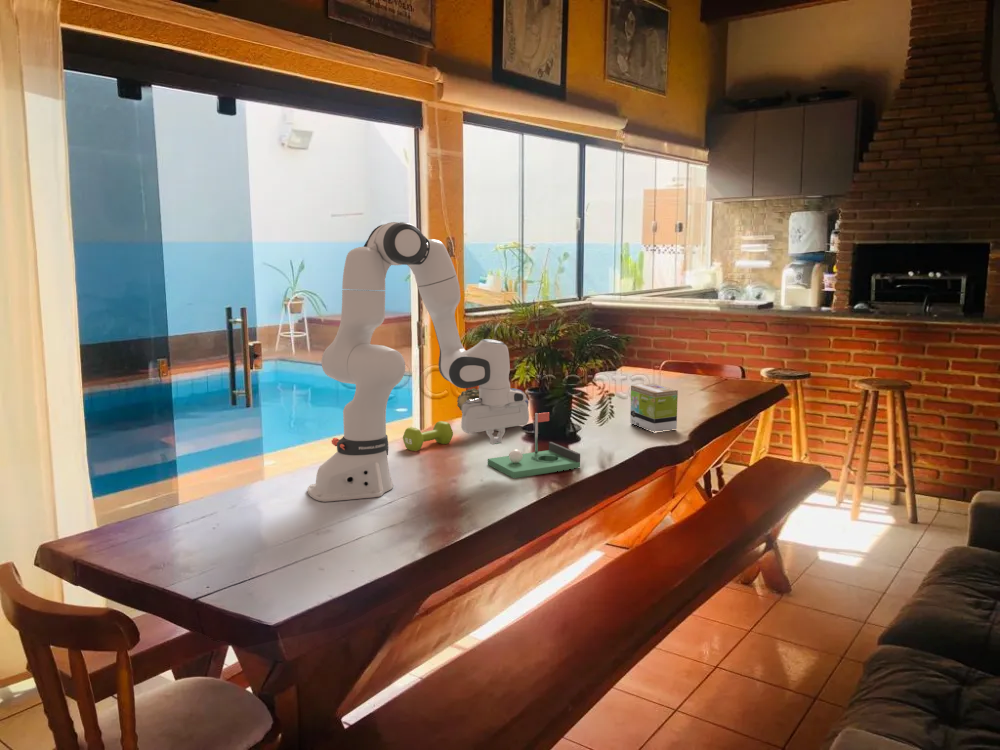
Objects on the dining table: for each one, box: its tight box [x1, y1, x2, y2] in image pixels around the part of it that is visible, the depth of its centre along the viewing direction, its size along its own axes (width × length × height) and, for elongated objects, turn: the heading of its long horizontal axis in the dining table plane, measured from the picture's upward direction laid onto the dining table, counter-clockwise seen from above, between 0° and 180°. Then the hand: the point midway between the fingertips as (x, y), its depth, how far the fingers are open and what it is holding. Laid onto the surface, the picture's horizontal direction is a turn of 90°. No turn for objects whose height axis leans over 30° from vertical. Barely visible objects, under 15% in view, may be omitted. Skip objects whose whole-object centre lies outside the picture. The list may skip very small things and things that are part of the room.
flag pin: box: [534, 412, 550, 453], centre depth 245 cm, size 5×1×14 cm, turn 118°
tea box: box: [629, 382, 679, 432], centre depth 284 cm, size 15×10×15 cm, turn 25°
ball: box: [508, 449, 523, 463], centre depth 233 cm, size 4×4×4 cm
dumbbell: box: [402, 420, 454, 452], centre depth 260 cm, size 16×8×7 cm, turn 134°
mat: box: [487, 441, 581, 479], centre depth 236 cm, size 22×16×4 cm
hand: (495, 443), depth 230 cm, fingers closed
